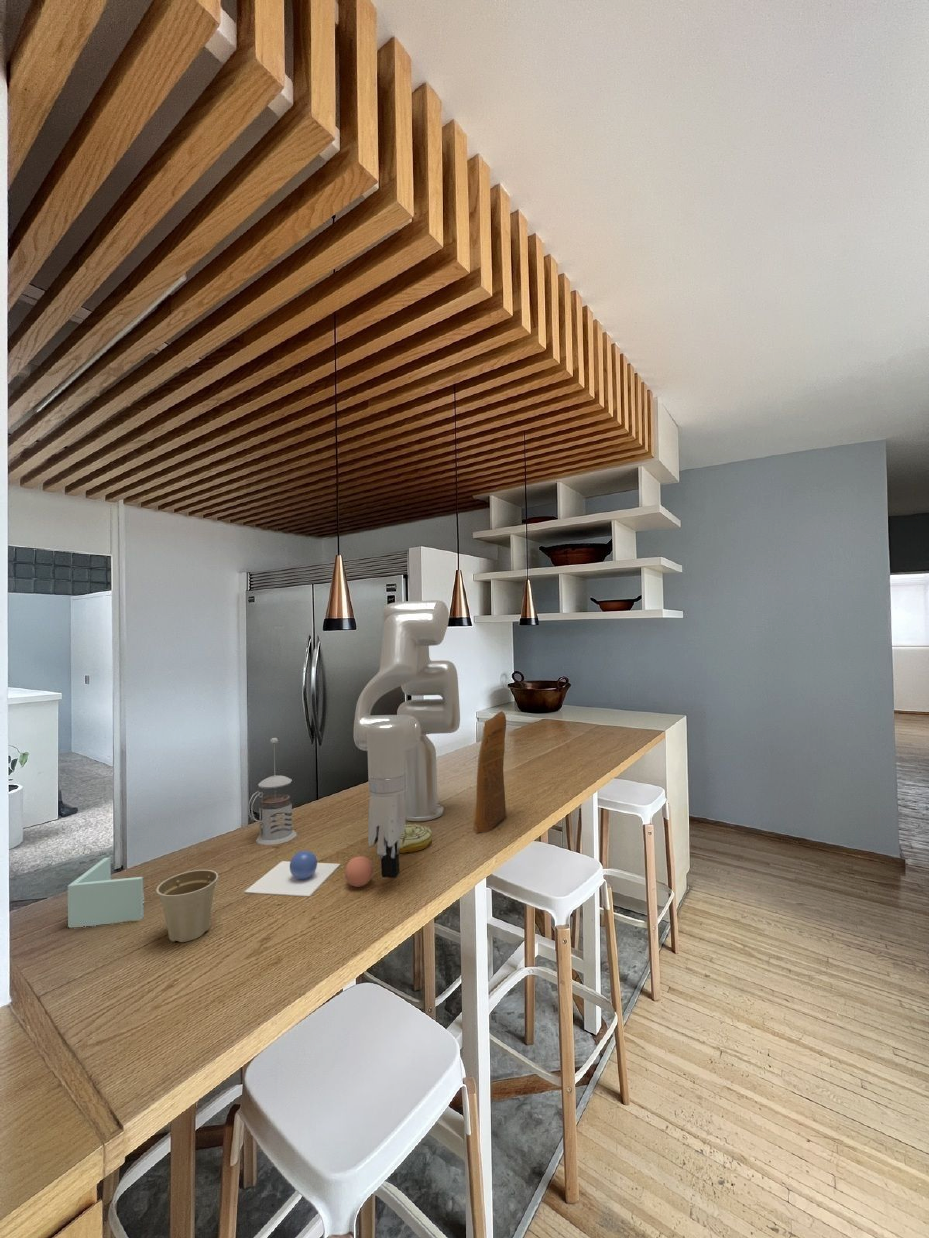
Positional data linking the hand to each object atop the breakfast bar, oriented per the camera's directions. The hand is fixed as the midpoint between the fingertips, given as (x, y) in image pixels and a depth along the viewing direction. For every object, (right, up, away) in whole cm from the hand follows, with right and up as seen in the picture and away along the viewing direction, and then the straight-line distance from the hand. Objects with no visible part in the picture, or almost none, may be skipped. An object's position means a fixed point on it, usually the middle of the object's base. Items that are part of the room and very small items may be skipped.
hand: (390, 875), depth 104 cm
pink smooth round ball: (-6, +1, 0) cm, 6 cm away
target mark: (-21, -3, +4) cm, 21 cm away
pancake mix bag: (+22, -2, +31) cm, 38 cm away
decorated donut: (+2, -3, +19) cm, 19 cm away
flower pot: (-32, -3, -15) cm, 36 cm away
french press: (-33, -4, +27) cm, 43 cm away
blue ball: (-19, 0, +4) cm, 19 cm away
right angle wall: (-50, -4, -6) cm, 51 cm away
